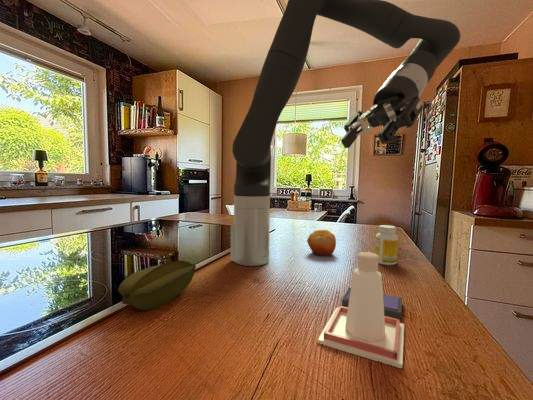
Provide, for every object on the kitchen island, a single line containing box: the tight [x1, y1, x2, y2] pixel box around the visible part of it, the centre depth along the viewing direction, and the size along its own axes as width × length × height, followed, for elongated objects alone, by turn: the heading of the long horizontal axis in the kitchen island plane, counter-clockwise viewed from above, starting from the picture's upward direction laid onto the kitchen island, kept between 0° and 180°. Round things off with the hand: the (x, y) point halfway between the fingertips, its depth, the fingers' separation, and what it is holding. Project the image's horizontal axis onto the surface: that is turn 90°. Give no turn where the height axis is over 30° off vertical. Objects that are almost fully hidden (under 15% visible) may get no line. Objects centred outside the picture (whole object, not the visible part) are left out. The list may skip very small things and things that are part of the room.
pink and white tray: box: [317, 305, 405, 369], centre depth 38 cm, size 10×10×1 cm
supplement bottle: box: [374, 224, 399, 266], centre depth 71 cm, size 5×5×10 cm
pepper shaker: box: [345, 251, 385, 342], centre depth 37 cm, size 5×5×11 cm
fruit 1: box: [117, 259, 197, 311], centre depth 47 cm, size 11×12×7 cm
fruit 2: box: [306, 229, 337, 256], centre depth 78 cm, size 8×8×8 cm
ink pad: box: [341, 287, 403, 321], centre depth 47 cm, size 9×6×1 cm, turn 62°
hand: (361, 142), depth 51 cm, fingers open, 8 cm apart
